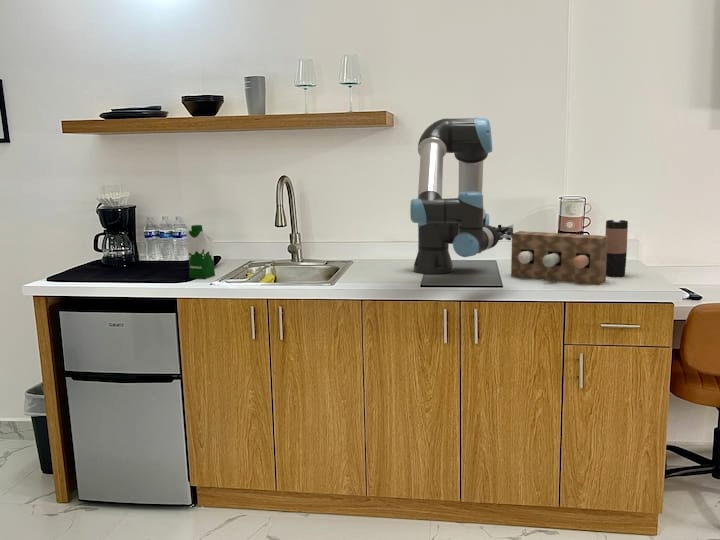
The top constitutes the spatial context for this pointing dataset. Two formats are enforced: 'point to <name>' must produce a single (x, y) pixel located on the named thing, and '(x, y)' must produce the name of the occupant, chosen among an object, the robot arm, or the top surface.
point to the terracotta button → (582, 260)
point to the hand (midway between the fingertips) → (511, 228)
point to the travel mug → (616, 247)
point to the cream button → (526, 256)
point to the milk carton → (200, 252)
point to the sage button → (551, 259)
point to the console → (567, 249)
